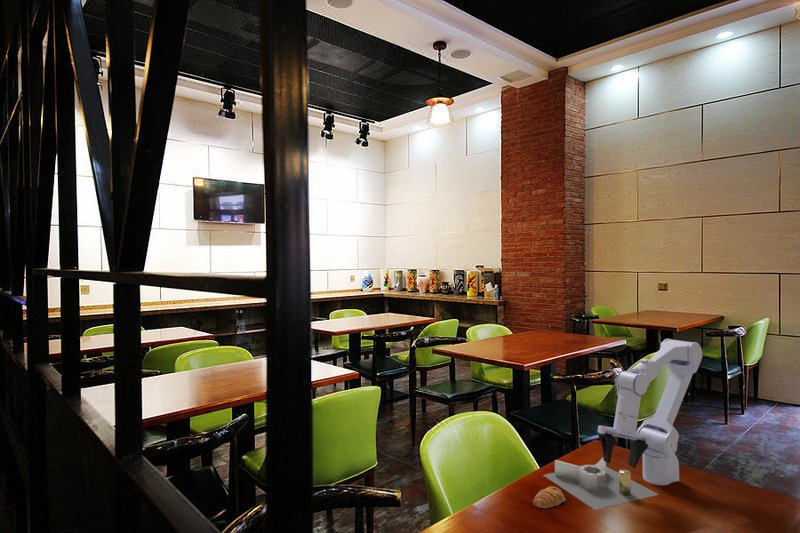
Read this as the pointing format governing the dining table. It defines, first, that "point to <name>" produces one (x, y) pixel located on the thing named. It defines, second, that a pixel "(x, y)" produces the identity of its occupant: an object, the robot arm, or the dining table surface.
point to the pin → (625, 482)
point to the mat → (605, 496)
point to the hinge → (583, 474)
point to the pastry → (548, 497)
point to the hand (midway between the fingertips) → (619, 464)
